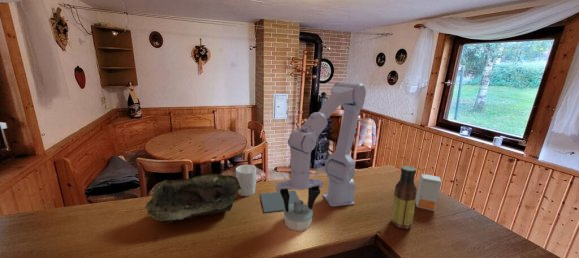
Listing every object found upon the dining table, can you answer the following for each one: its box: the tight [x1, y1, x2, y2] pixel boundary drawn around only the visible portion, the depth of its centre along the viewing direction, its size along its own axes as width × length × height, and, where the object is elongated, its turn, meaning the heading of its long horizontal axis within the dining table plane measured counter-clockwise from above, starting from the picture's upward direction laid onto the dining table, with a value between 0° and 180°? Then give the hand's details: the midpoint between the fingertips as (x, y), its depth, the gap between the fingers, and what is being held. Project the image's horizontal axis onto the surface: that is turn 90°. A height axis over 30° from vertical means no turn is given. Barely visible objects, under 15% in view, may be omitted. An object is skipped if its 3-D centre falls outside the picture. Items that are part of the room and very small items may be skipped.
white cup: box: [235, 164, 257, 197], centre depth 93 cm, size 8×8×10 cm
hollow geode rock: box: [144, 172, 241, 225], centre depth 79 cm, size 28×13×15 cm
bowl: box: [283, 214, 313, 232], centre depth 76 cm, size 8×8×4 cm
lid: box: [283, 199, 314, 222], centre depth 75 cm, size 9×9×4 cm
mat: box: [259, 190, 300, 214], centre depth 88 cm, size 14×12×1 cm
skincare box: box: [415, 173, 442, 212], centre depth 87 cm, size 6×4×12 cm
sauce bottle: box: [391, 165, 418, 230], centre depth 75 cm, size 7×6×20 cm
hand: (298, 208), depth 75 cm, fingers open, 7 cm apart
